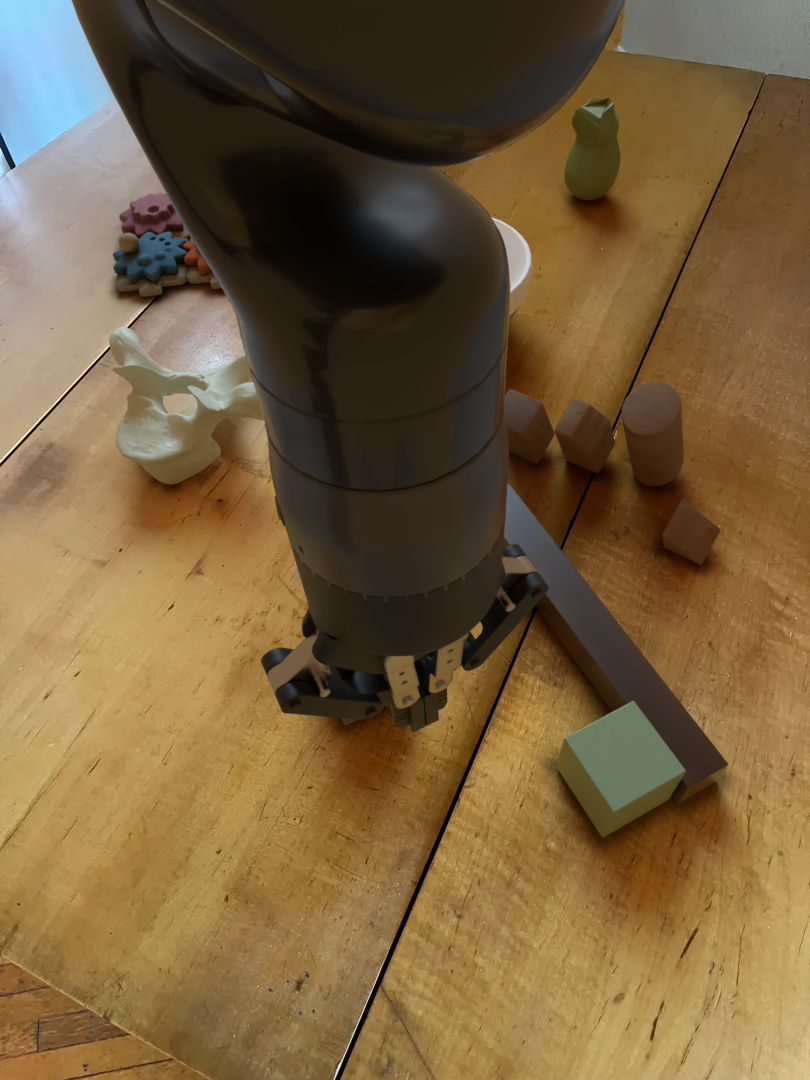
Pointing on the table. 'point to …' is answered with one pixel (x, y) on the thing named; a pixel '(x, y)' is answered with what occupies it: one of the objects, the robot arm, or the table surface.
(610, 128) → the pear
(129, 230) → the gear puzzle
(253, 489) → the table surface
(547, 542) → the straightedge
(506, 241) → the bowl
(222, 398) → the bone
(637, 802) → the green block
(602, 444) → the wooden block set
